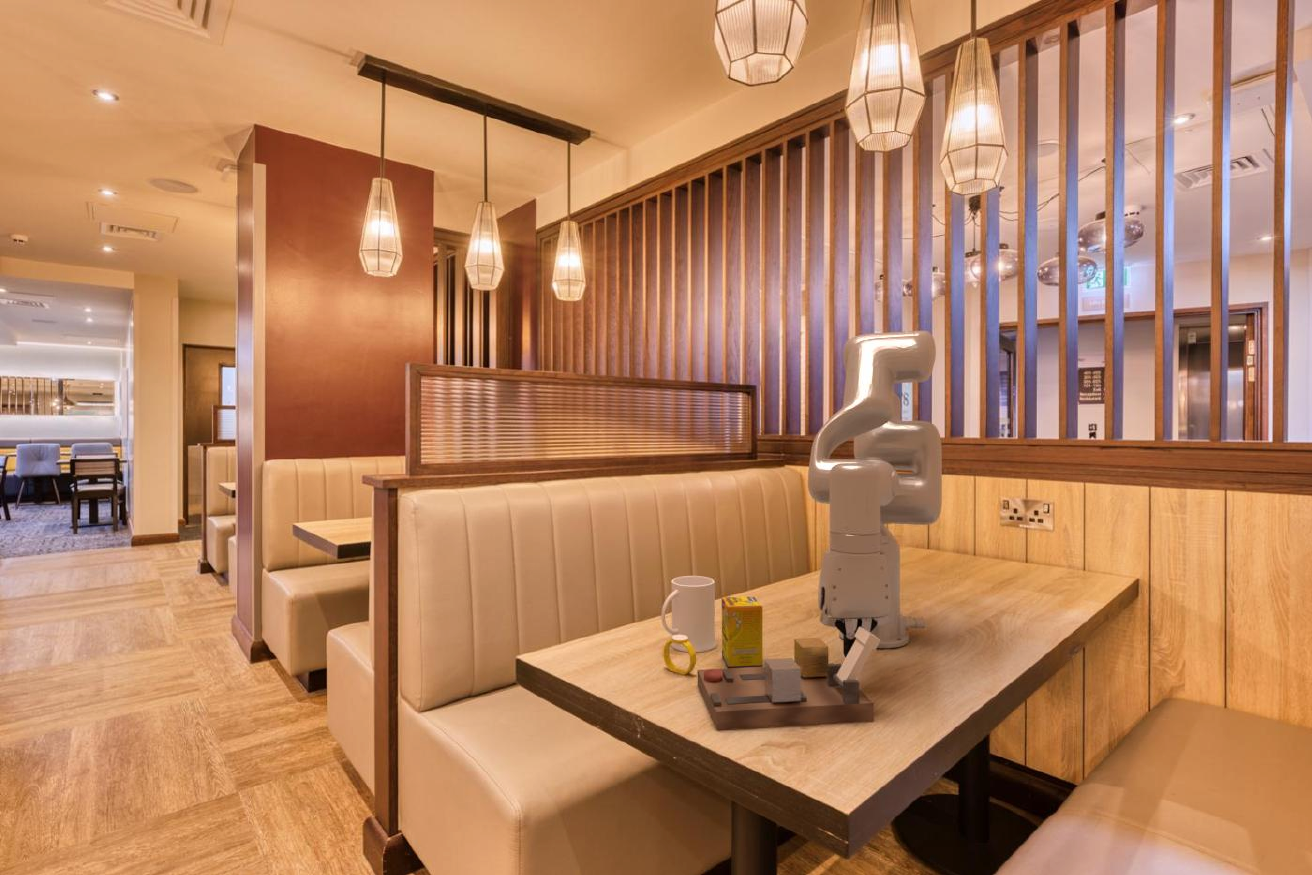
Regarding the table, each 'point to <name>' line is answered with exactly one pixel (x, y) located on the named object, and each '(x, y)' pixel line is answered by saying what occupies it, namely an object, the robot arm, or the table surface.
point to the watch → (684, 640)
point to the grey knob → (782, 680)
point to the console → (747, 705)
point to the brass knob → (811, 656)
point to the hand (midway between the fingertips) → (854, 661)
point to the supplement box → (741, 632)
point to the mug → (692, 612)
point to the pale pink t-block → (856, 656)
